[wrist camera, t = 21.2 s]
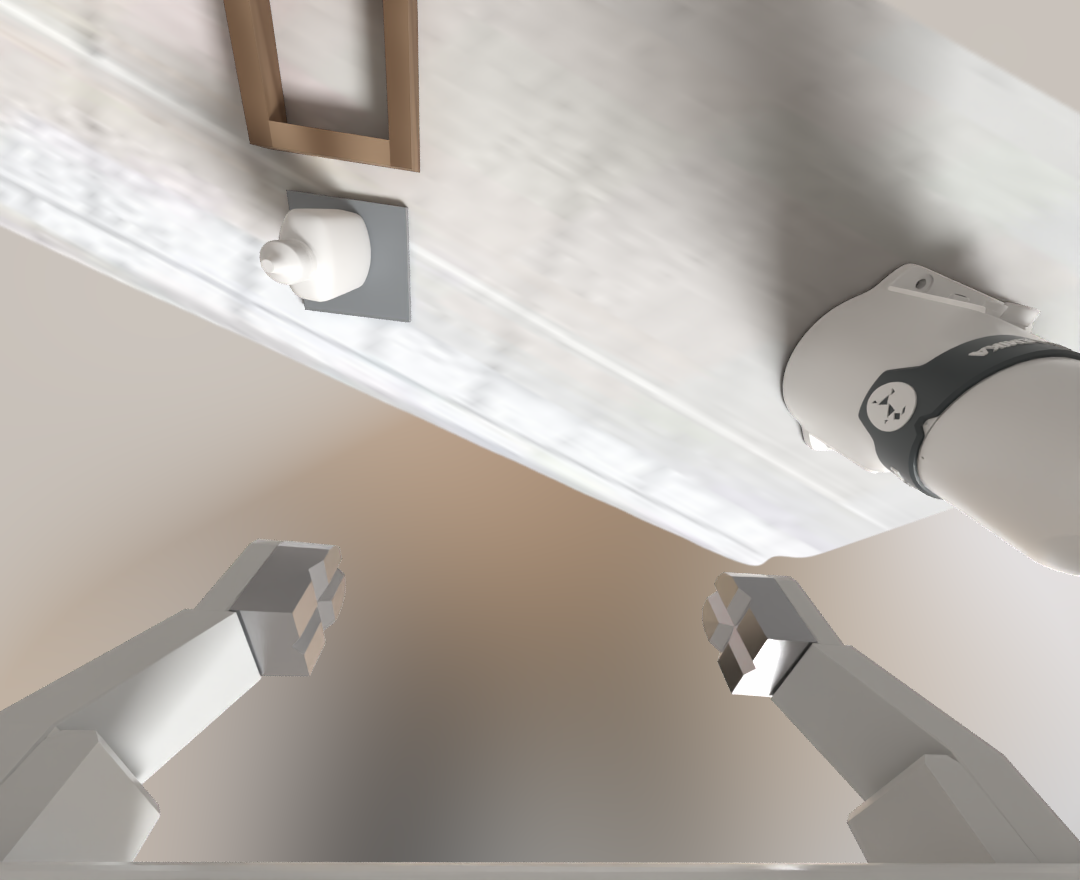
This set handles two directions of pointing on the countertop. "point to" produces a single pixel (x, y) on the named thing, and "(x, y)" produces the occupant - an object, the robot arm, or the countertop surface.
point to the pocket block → (271, 130)
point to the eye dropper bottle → (319, 253)
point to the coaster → (389, 259)
